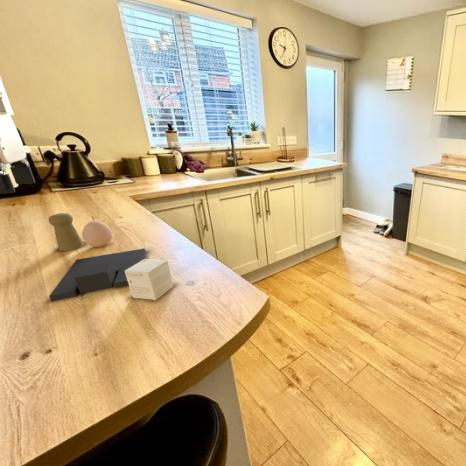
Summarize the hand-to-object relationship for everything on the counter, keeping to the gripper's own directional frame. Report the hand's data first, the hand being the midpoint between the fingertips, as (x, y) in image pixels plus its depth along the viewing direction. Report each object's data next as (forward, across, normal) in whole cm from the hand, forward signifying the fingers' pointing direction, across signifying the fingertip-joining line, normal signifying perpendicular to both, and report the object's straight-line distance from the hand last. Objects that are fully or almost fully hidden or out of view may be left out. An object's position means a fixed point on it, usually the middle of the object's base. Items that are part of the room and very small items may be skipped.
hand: (16, 188), depth 66 cm
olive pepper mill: (+24, -21, -1) cm, 32 cm away
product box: (+23, +20, +24) cm, 39 cm away
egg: (+24, -18, +7) cm, 30 cm away
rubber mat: (+23, +4, +12) cm, 26 cm away
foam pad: (+23, +10, +12) cm, 28 cm away
